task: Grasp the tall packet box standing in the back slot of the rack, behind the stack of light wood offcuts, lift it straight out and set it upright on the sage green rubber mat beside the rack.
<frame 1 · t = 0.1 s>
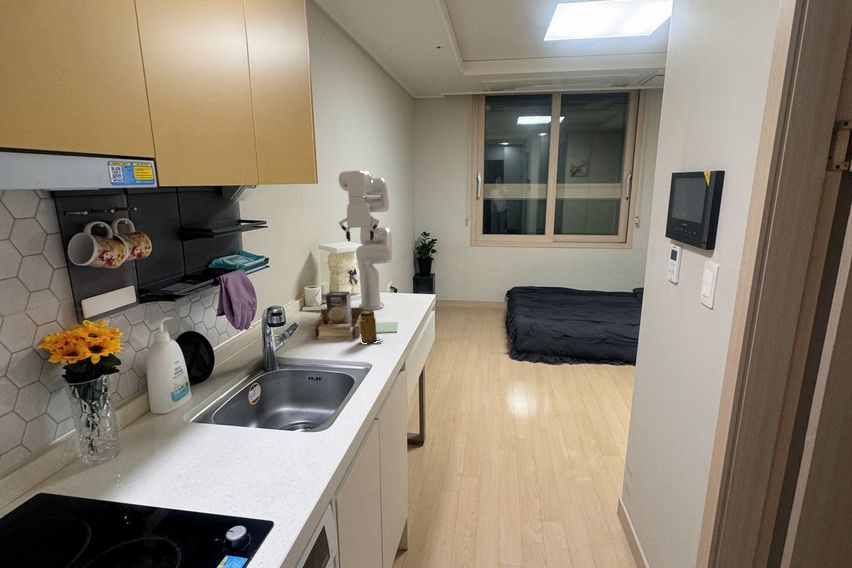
hand: (360, 240, 191), 37 cm above the worktop, tool pointing down, fingers open, 9 cm apart
condiment: (371, 341, 173), on the worktop
mat: (382, 328, 189), on the worktop
offcut stack: (336, 338, 179), on the worktop
rack: (339, 331, 186), on the worktop
coffee box: (340, 329, 189), resting in rack
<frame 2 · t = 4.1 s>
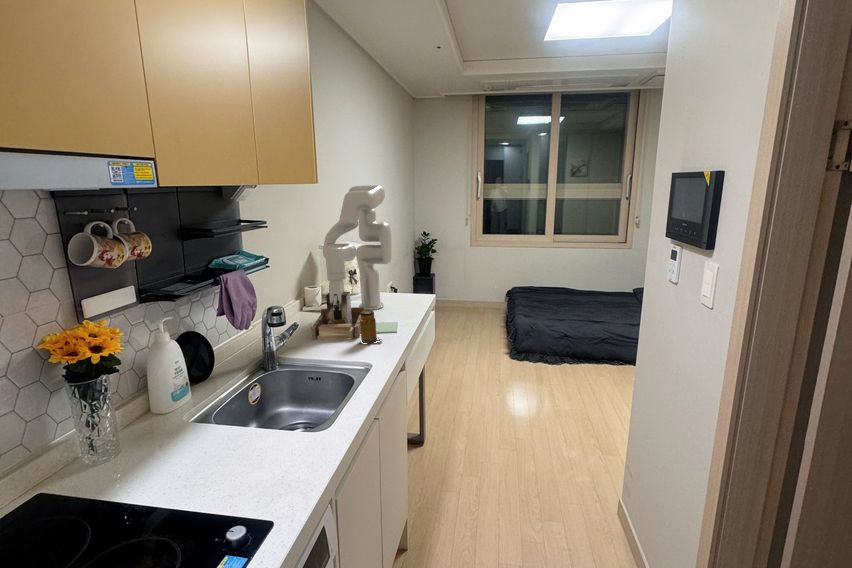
hand: (339, 316, 188), 6 cm above the worktop, tool pointing down, fingers closed on coffee box, 6 cm apart
coffee box: (340, 329, 189), resting in rack, touching gripper
everything else where it was.
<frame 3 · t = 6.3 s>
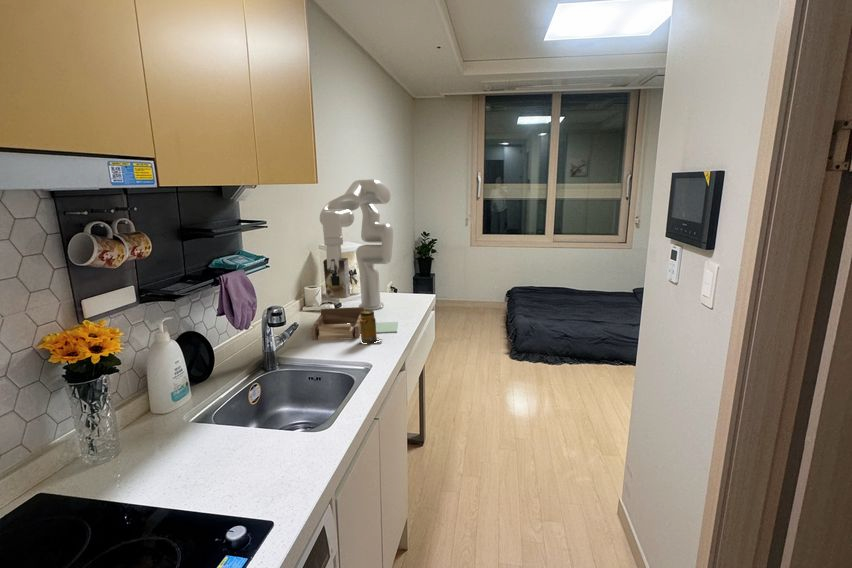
hand: (337, 283, 185), 20 cm above the worktop, tool pointing down, fingers closed on coffee box, 6 cm apart
coffee box: (338, 296, 187), point 14 cm above the worktop, touching gripper
everything else where it was.
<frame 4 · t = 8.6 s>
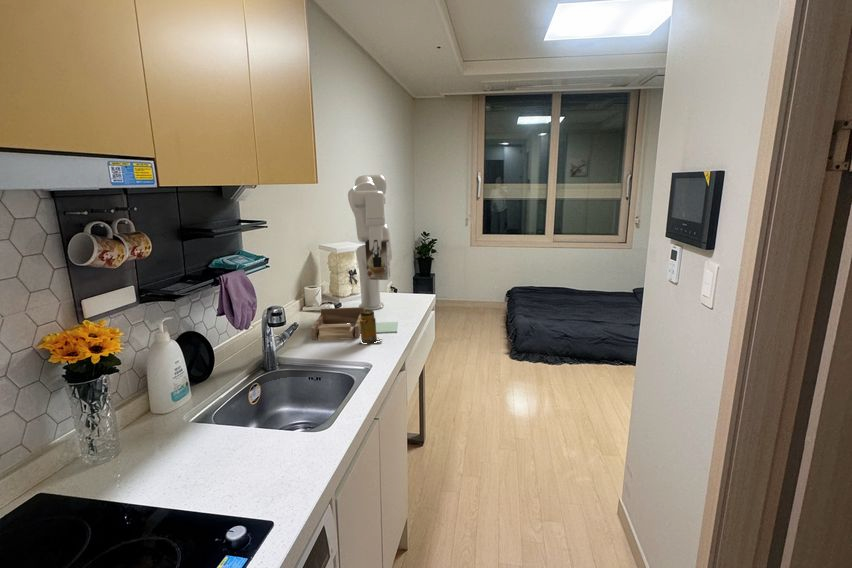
hand: (378, 264, 183), 28 cm above the worktop, tool pointing down, fingers closed on coffee box, 6 cm apart
coffee box: (379, 279, 184), point 22 cm above the worktop, touching gripper
everything else where it was.
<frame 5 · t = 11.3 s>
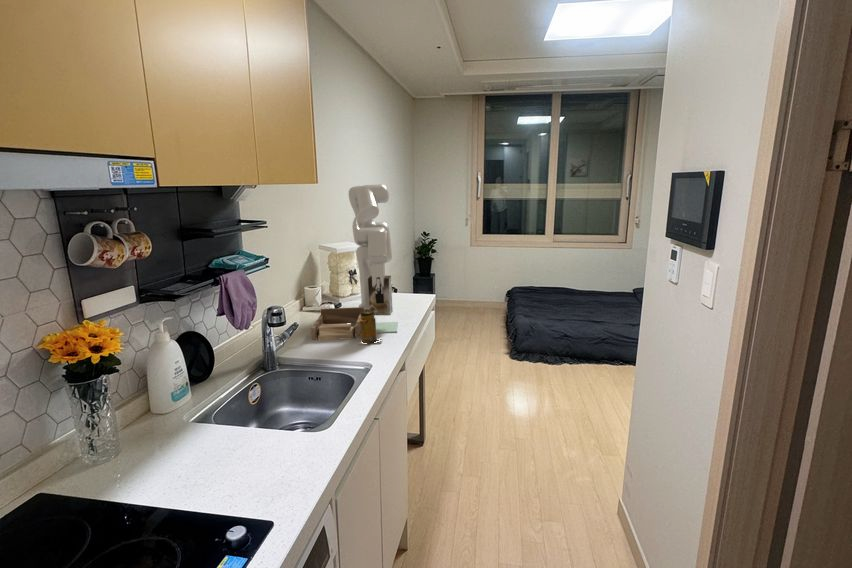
hand: (380, 300, 186), 12 cm above the worktop, tool pointing down, fingers closed on coffee box, 6 cm apart
coffee box: (381, 314, 187), point 6 cm above the worktop, touching gripper
everything else where it was.
when the fingers open (7 cm above the worktop, at t = 13.3 s): coffee box drops 1 cm, resting on mat.
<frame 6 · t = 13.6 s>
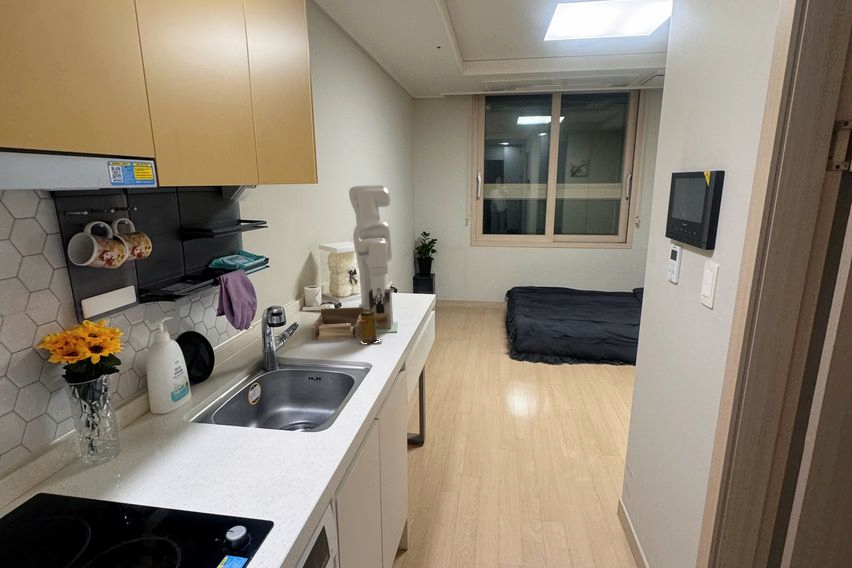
hand: (381, 310, 187), 8 cm above the worktop, tool pointing down, fingers open, 9 cm apart
coffee box: (382, 327, 189), resting on mat
everything else where it was.
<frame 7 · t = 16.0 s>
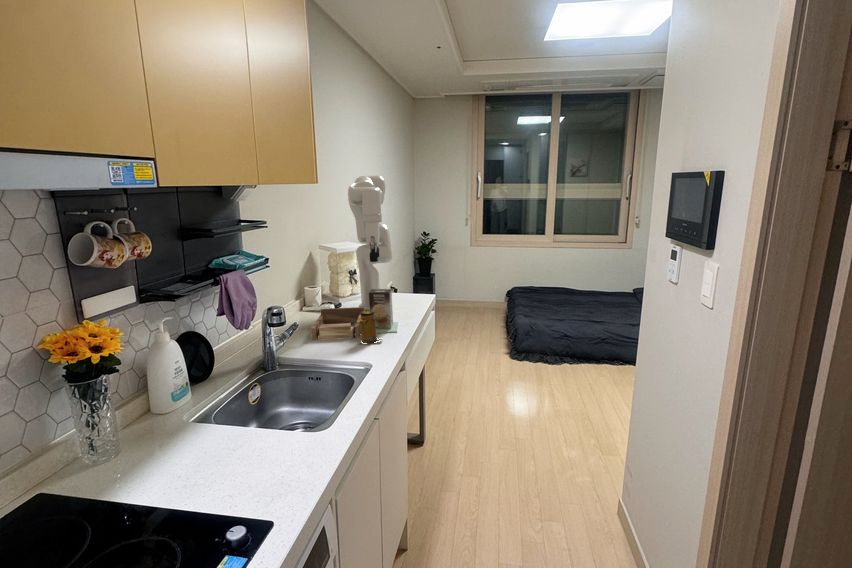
hand: (374, 259, 186), 29 cm above the worktop, tool pointing down, fingers open, 9 cm apart
nothing on the worktop moved.
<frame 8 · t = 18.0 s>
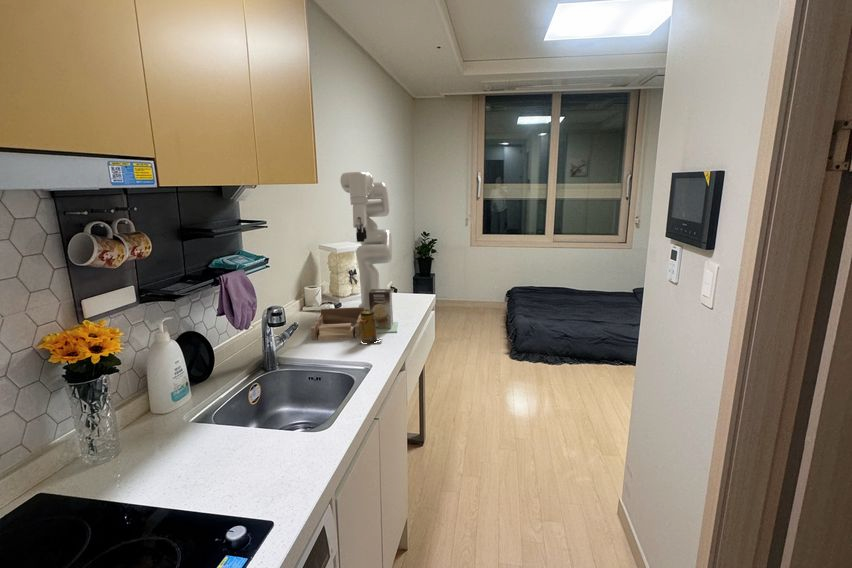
hand: (361, 240, 195), 36 cm above the worktop, tool pointing down, fingers open, 9 cm apart
nothing on the worktop moved.
at the end: coffee box inside the target area on the mat (0.3 cm from its centre), point 0.3 cm above the mat's base; coffee box tilted 0°; the gripper is holding nothing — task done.
